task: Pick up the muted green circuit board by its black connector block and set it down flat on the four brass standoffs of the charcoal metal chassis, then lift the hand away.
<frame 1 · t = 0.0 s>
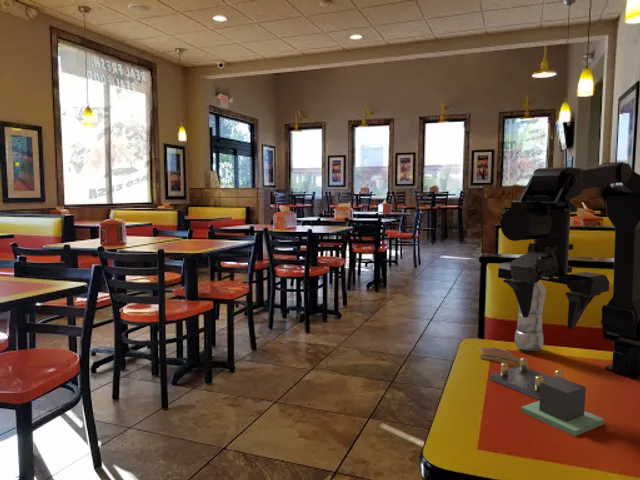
hand: (547, 323, 90), 15 cm above the table, fingers open, 9 cm apart
chassis: (530, 384, 99), on the table
shard: (504, 361, 114), on the table
circuit board: (561, 419, 84), on the table
plastic bottle: (528, 350, 120), on the table
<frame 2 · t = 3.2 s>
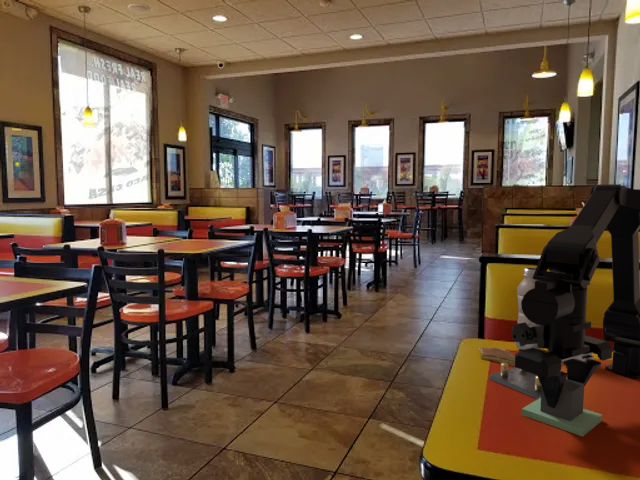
hand: (561, 403, 84), 3 cm above the table, fingers closed on circuit board, 5 cm apart
circuit board: (561, 418, 84), on the table, touching gripper
everything else where it was.
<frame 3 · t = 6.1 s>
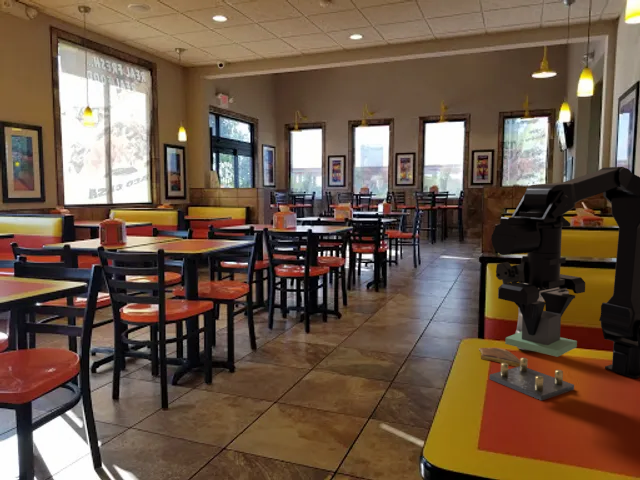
hand: (540, 332, 94), 12 cm above the table, fingers closed on circuit board, 5 cm apart
circuit board: (540, 345, 94), point 9 cm above the table, touching gripper
everything else where it was.
when the fingers open (7 cm above the table, at t = 9.0 s): circuit board stays where it is, resting on chassis.
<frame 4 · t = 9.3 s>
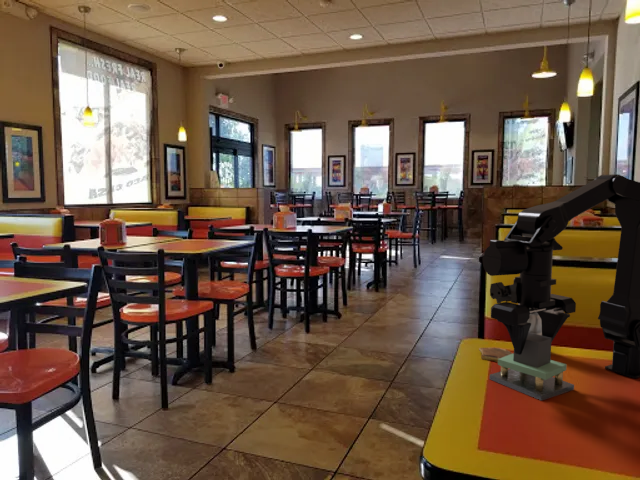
hand: (532, 350, 98), 7 cm above the table, fingers open, 8 cm apart
circuit board: (531, 367, 98), point 3 cm above the table, touching chassis
everything else where it was.
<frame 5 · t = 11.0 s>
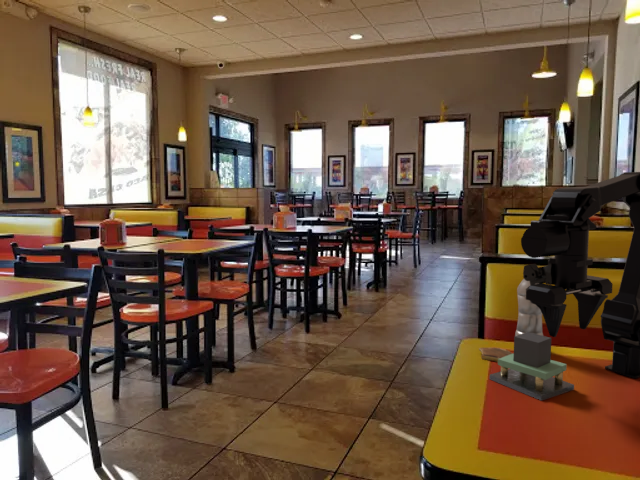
hand: (568, 332, 96), 11 cm above the table, fingers open, 9 cm apart
nothing on the table moved.
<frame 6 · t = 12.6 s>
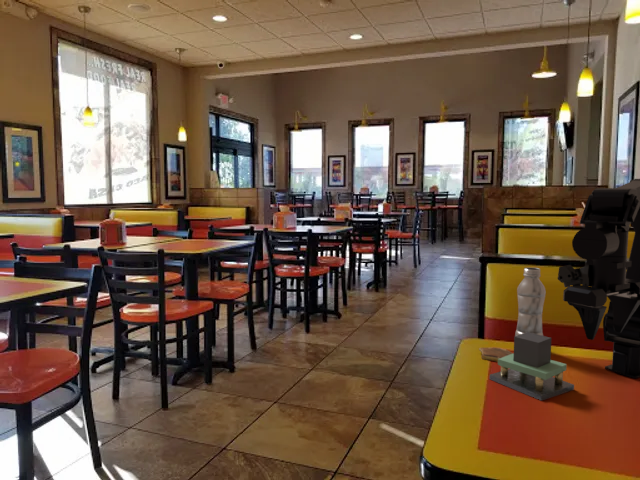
hand: (604, 335, 94), 11 cm above the table, fingers open, 9 cm apart
nothing on the table moved.
at the end: circuit board 0.0 cm off-centre on the chassis, point 3.5 cm above the chassis's base; circuit board tilted 0°; the gripper is holding nothing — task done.
